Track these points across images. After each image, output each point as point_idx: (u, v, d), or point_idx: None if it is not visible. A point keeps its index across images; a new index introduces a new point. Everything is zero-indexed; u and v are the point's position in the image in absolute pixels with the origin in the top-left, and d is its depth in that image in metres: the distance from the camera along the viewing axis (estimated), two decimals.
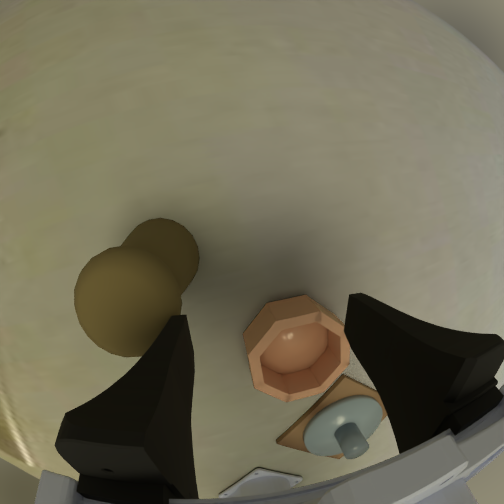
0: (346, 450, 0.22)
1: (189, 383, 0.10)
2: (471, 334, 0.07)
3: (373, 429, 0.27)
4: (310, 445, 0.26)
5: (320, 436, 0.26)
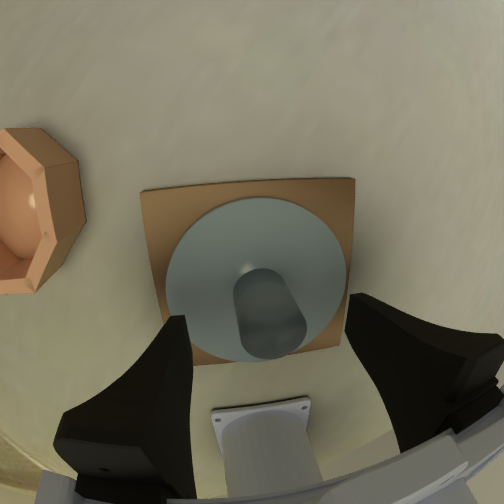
0: (241, 342, 0.11)
1: (188, 383, 0.10)
2: (471, 333, 0.07)
3: (336, 261, 0.15)
4: (219, 350, 0.16)
5: (215, 326, 0.15)
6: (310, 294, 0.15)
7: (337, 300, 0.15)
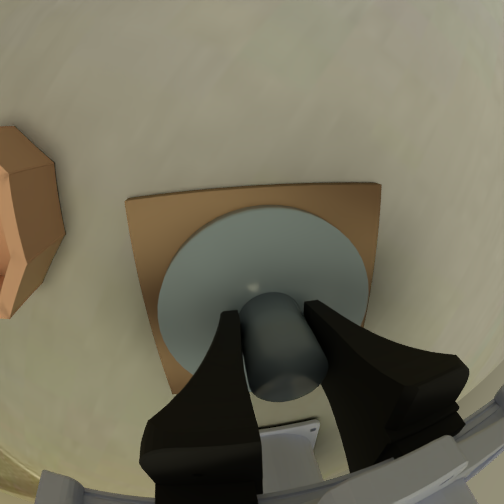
0: None
1: None
2: (427, 352, 0.06)
3: (359, 281, 0.12)
4: None
5: None
6: None
7: (357, 324, 0.13)
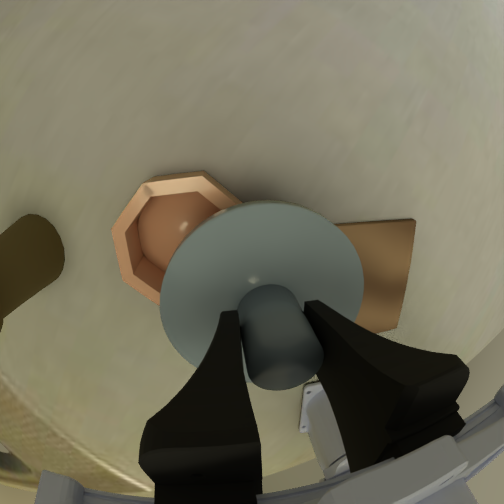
0: None
1: None
2: (427, 352, 0.06)
3: (353, 268, 0.12)
4: None
5: None
6: None
7: (355, 310, 0.13)
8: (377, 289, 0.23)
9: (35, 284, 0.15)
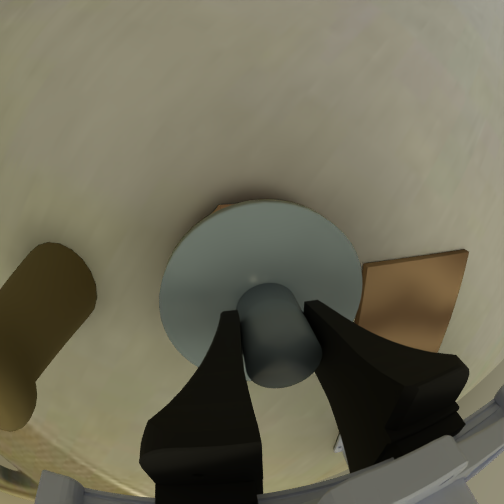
0: None
1: None
2: (427, 352, 0.06)
3: (350, 265, 0.12)
4: None
5: None
6: (324, 303, 0.13)
7: (354, 306, 0.13)
8: (429, 319, 0.21)
9: (67, 335, 0.13)
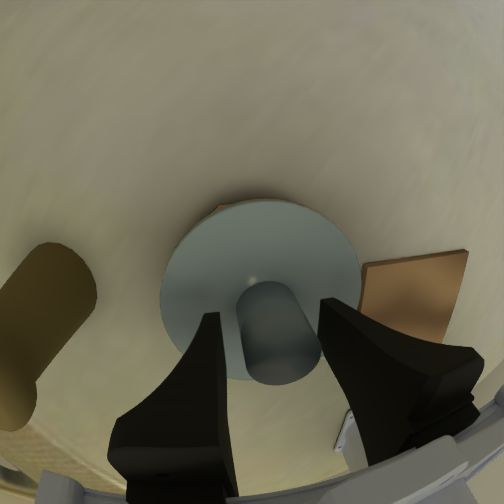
0: None
1: (224, 380, 0.10)
2: (444, 345, 0.07)
3: (349, 263, 0.13)
4: (229, 370, 0.14)
5: None
6: None
7: (353, 305, 0.14)
8: (429, 319, 0.21)
9: (67, 335, 0.13)
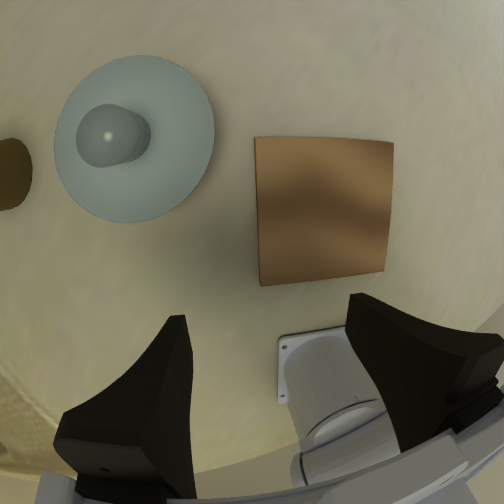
0: None
1: (187, 383, 0.10)
2: (471, 334, 0.07)
3: (197, 96, 0.13)
4: (100, 208, 0.14)
5: (93, 180, 0.14)
6: (176, 132, 0.14)
7: (209, 137, 0.14)
8: (356, 217, 0.21)
9: None
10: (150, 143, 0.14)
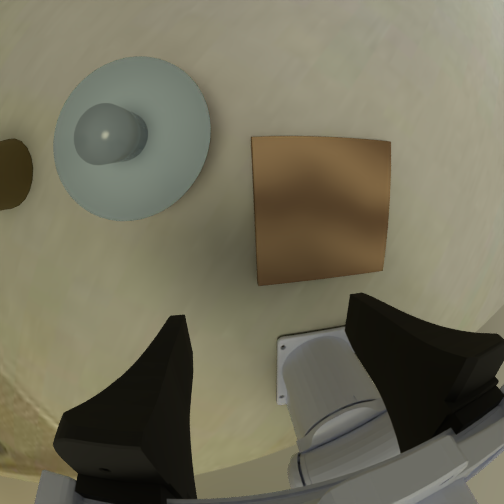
0: None
1: (188, 383, 0.10)
2: (471, 333, 0.07)
3: (193, 95, 0.13)
4: (99, 207, 0.14)
5: (91, 179, 0.14)
6: (172, 131, 0.14)
7: (205, 136, 0.14)
8: (354, 216, 0.21)
9: None
10: (147, 142, 0.14)
